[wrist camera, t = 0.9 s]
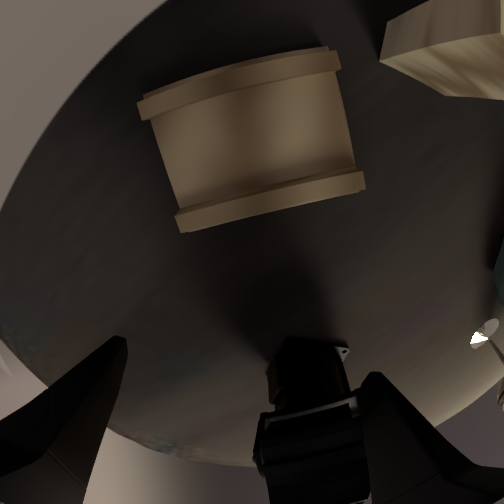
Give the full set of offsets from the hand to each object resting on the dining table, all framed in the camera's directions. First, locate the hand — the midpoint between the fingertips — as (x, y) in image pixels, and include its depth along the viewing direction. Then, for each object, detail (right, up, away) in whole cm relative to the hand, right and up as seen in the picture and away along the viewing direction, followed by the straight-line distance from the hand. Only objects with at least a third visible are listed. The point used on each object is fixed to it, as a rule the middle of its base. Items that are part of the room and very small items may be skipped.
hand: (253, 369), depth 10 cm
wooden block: (+12, +18, +5) cm, 22 cm away
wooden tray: (0, +11, +9) cm, 14 cm away
